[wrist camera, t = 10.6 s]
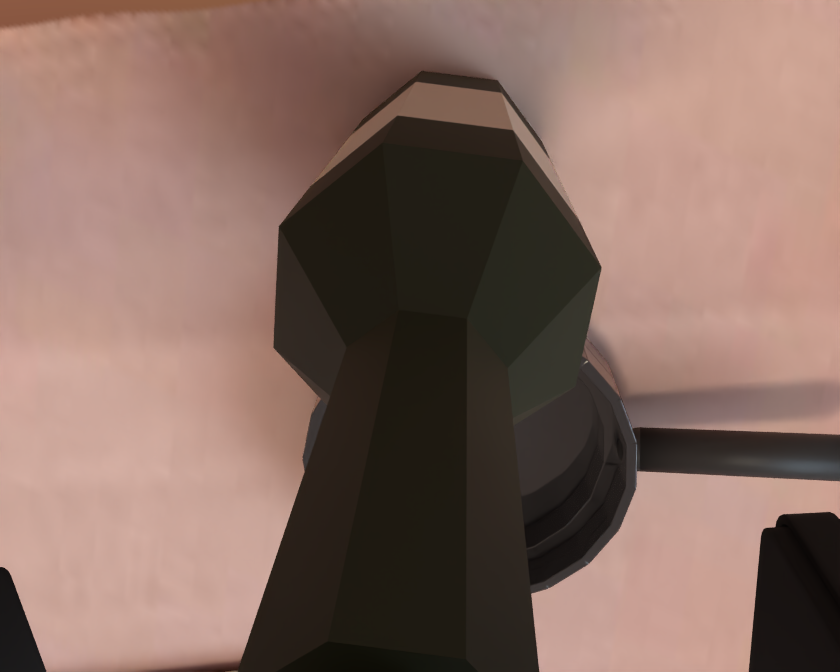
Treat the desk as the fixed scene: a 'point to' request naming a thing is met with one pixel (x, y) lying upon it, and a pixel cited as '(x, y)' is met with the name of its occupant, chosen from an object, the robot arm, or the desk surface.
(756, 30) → the desk surface
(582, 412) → the pan
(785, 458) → the pan handle
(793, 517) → the robot arm
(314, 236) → the wine bottle
